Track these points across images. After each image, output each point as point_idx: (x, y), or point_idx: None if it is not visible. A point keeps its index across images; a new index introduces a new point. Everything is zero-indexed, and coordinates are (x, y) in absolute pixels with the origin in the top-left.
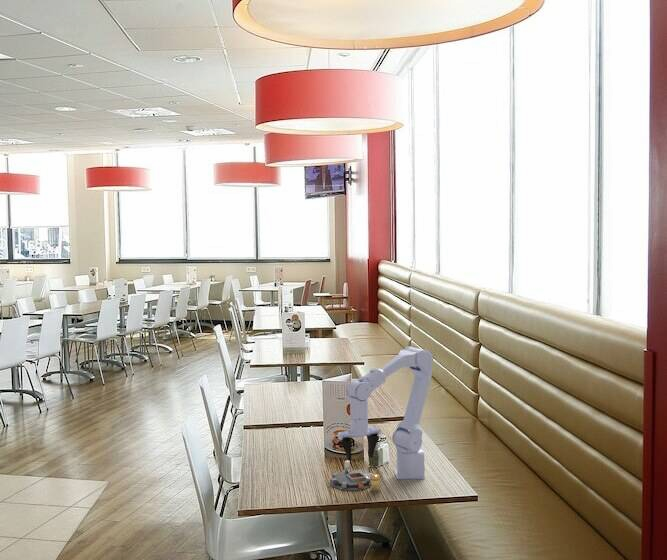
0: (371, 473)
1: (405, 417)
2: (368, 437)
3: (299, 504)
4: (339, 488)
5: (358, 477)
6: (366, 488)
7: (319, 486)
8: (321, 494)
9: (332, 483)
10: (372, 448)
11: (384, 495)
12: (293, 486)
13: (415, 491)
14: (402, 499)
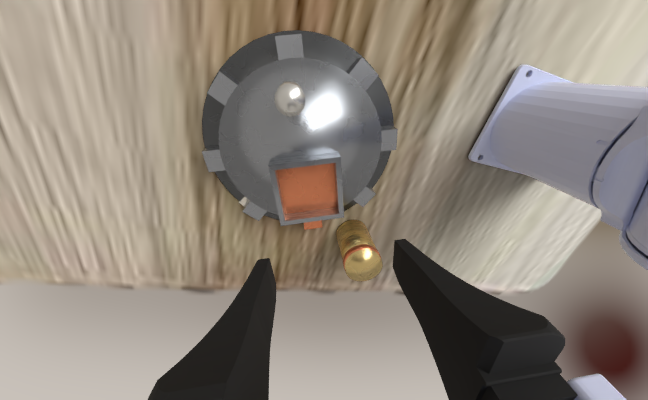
0: (392, 138)
1: None
2: (467, 351)
3: (94, 275)
4: (237, 198)
5: (322, 176)
6: None
7: (154, 141)
8: (167, 219)
9: (212, 143)
10: (422, 321)
11: None
12: (14, 105)
13: (451, 253)
14: (393, 288)
